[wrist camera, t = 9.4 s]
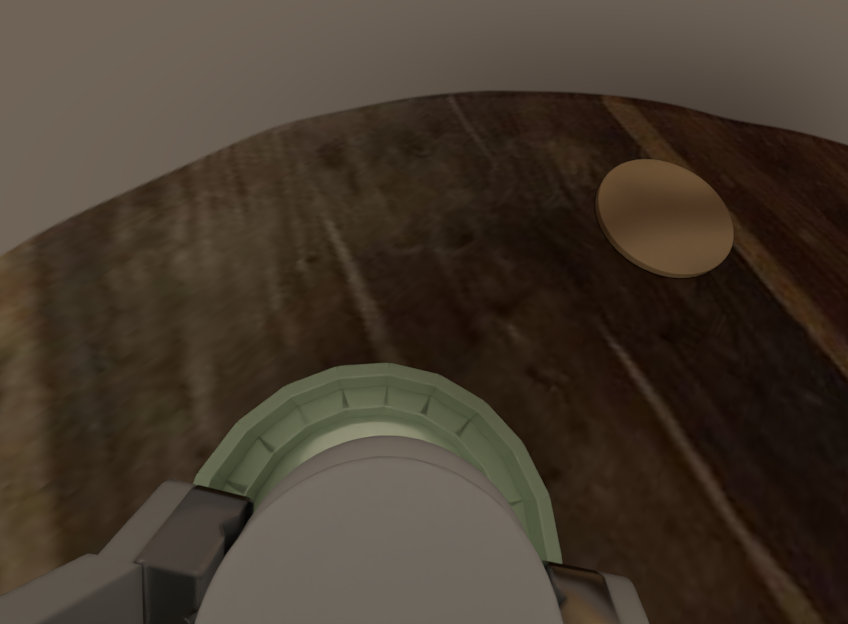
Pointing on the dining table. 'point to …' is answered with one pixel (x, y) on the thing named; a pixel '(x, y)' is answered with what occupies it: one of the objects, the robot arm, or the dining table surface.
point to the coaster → (664, 218)
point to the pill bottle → (382, 546)
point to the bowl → (376, 416)
